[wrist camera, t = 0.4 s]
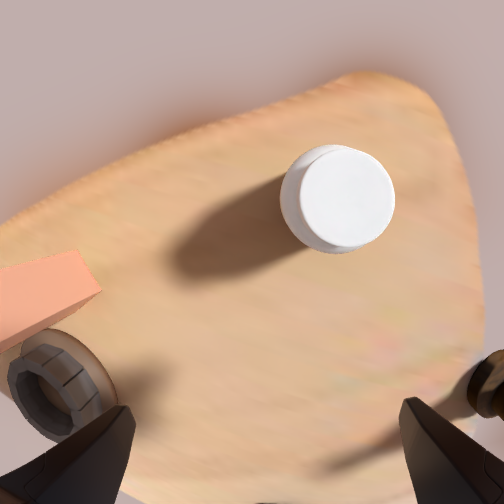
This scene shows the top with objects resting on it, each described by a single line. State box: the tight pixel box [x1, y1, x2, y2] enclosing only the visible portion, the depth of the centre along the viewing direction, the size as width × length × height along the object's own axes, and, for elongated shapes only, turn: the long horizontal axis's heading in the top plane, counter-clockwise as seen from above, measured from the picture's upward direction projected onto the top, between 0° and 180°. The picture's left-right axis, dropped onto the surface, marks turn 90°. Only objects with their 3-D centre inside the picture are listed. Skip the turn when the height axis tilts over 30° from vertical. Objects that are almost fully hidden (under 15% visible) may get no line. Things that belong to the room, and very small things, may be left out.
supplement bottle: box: [280, 145, 395, 254], centre depth 17 cm, size 5×5×10 cm
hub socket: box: [7, 328, 118, 443], centre depth 23 cm, size 12×12×4 cm
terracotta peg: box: [0, 250, 102, 354], centre depth 18 cm, size 4×4×13 cm
